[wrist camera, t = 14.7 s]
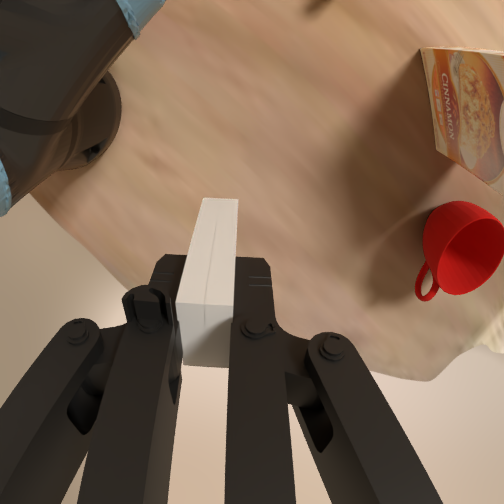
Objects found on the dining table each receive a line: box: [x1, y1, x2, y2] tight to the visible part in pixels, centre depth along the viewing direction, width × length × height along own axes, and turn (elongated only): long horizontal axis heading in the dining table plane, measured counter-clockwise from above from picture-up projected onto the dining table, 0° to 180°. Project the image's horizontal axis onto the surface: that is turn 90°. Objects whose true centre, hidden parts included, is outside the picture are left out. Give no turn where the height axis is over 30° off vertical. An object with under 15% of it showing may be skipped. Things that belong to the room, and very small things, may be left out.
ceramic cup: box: [415, 201, 504, 301], centre depth 41 cm, size 13×17×10 cm
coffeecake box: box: [420, 47, 504, 197], centre depth 25 cm, size 15×7×20 cm, turn 17°
